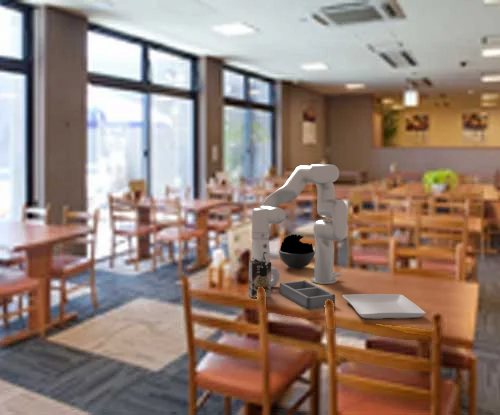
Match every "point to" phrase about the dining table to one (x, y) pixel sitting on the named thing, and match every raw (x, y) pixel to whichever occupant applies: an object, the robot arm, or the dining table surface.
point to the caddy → (306, 294)
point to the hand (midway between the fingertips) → (259, 273)
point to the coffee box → (259, 278)
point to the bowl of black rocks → (296, 252)
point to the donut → (274, 276)
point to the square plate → (384, 306)
